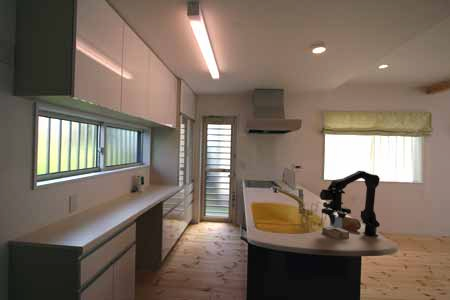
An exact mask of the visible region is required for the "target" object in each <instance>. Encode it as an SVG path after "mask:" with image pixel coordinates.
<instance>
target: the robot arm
mask: <svg viewBox="0 0 450 300" xmlns="http://www.w3.org/2000/svg"><path fill="white" fill-rule="evenodd" d="M360 179H362V180H364V184H365V187H366V190H365V191H366V193H365V204H364V209H363V210H360V216H359V217H360V219H361V221H362V224H365V225H364V231H363V232H362V233H363V234H364V235H367V236H369V237H378V236H379V234H377V228H379V227H380V225H381V224H380V222H379V221H378V220H377V215H376V212H375V197H376V188H377V187H378V186H379V185H380V184H379V183H380V180H381V179H380V176H379V175H378V174H372V173H369V172H366V171H364V170H357V171H355V172H354V173H351V174H350V175H348V176H345V177H343V178H339V179H334V180H332V181H331V183H330V184H329V186H328V187H327V189H324V188H323V189H321V191H320V192H319V198H320V200H321V201H324V202H322V206H323V208H321V213H322V214H324V215H327V216H328V218H329V222H330V221H331V224H332V225H333V224H334V220H335V216H338V217H341V218H342V220H343V219H344V217H347V216H348V215H350V214H352V210H351V208H348V207H343V206H342V205H344V202H343V201H342V198H343V194H346V192H345V191H344V189H345V188H346V187H347V185H349V184H352V183H354V182H356V181H357V180H360ZM326 201H329V202H326ZM335 213H336V214H337V215H336V214H335Z"/></svg>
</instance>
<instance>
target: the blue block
mask: <svg viewBox="0 0 450 300" xmlns="http://www.w3.org/2000/svg"><path fill="white" fill-rule="evenodd" d="M329 227H334V228H341V229H343V228H342V218H341V217H338V215H336V216H335V220H334V224H333V225H332V224H331V221H330V220H329Z"/></svg>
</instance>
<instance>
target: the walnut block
mask: <svg viewBox="0 0 450 300" xmlns="http://www.w3.org/2000/svg"><path fill="white" fill-rule="evenodd" d="M321 231H322V232H321V233H322V234H323V235H326V236H327V237H330V238H332V239H334V240H338V239H339V240H340V239H349V238H350V231H349V230H347V229H343V228H334V227H332V226H324V227H323V226H322V230H321Z"/></svg>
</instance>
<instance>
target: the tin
mask: <svg viewBox="0 0 450 300" xmlns="http://www.w3.org/2000/svg"><path fill="white" fill-rule="evenodd" d="M361 228H362V223H361V221H360V220H359V219H358V218H355V217H349V216H345V217H344V219H343V220H342V228H341V229H344V230H347V231H351V232H352V231H353V232H357V231H359V230H361Z"/></svg>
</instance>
